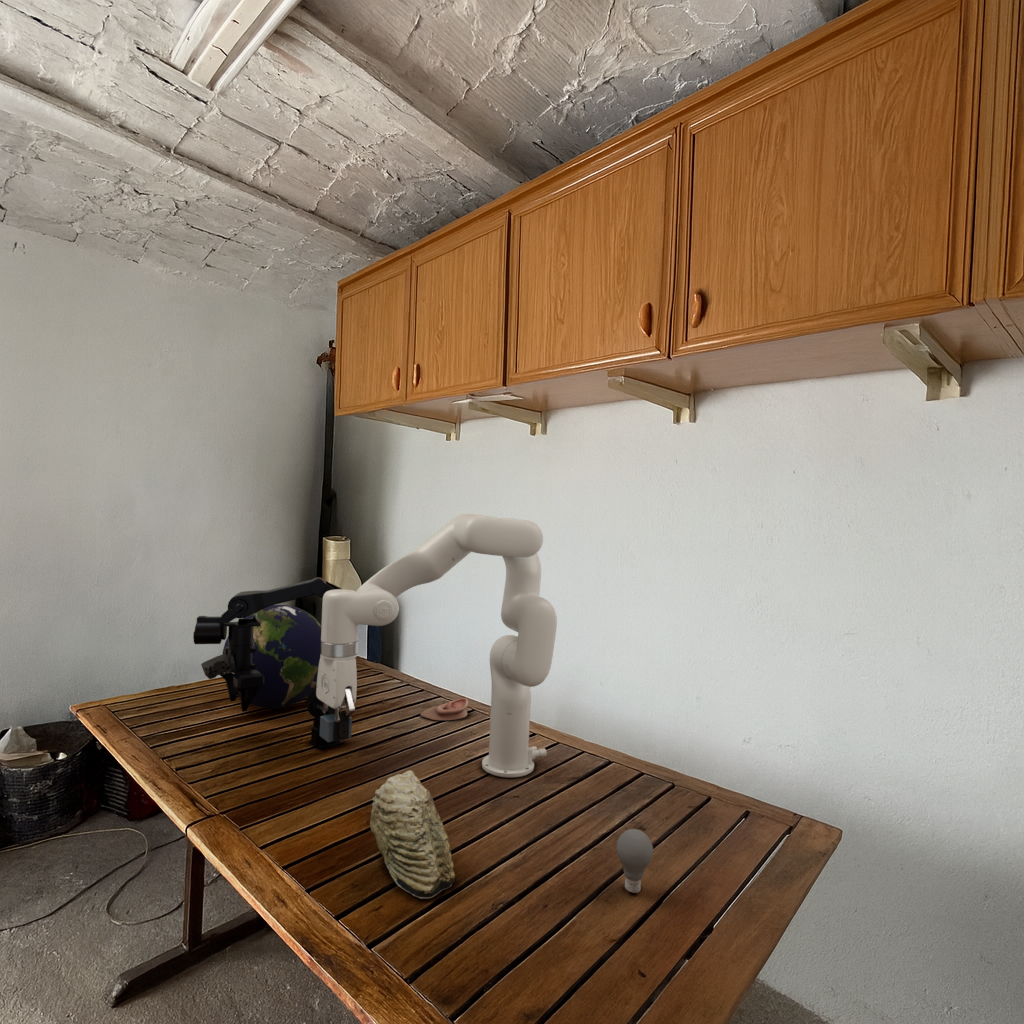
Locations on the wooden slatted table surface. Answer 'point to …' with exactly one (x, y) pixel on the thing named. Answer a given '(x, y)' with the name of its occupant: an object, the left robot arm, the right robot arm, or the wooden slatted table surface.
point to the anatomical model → (447, 710)
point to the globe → (285, 655)
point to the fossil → (412, 836)
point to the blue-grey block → (330, 727)
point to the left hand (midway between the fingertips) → (238, 706)
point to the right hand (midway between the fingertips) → (335, 734)
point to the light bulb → (634, 857)
